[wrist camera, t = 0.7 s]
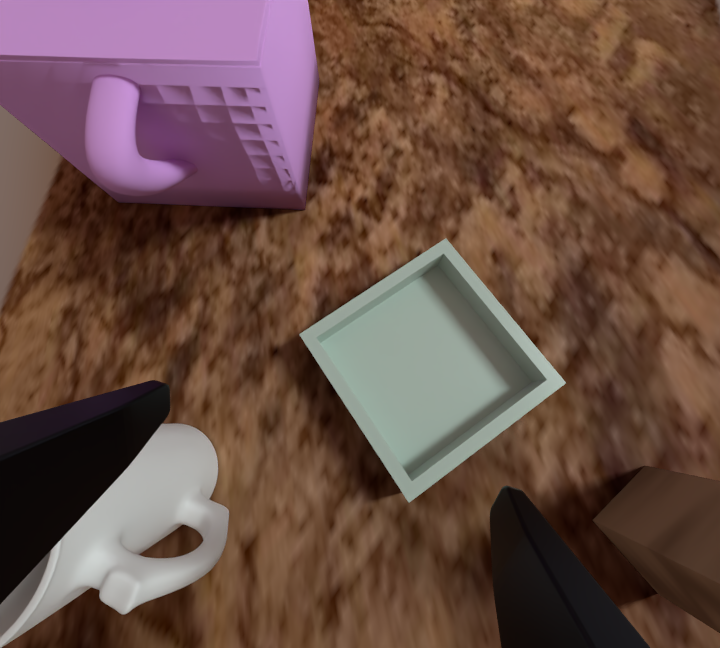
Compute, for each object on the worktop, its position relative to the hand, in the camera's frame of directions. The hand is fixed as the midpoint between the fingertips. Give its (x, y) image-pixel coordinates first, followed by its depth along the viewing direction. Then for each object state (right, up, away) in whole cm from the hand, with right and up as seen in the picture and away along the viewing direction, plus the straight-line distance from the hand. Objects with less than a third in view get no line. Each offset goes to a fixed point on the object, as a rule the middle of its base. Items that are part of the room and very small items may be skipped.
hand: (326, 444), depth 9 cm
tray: (+5, 0, +15) cm, 16 cm away
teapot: (-11, +20, +20) cm, 30 cm away
